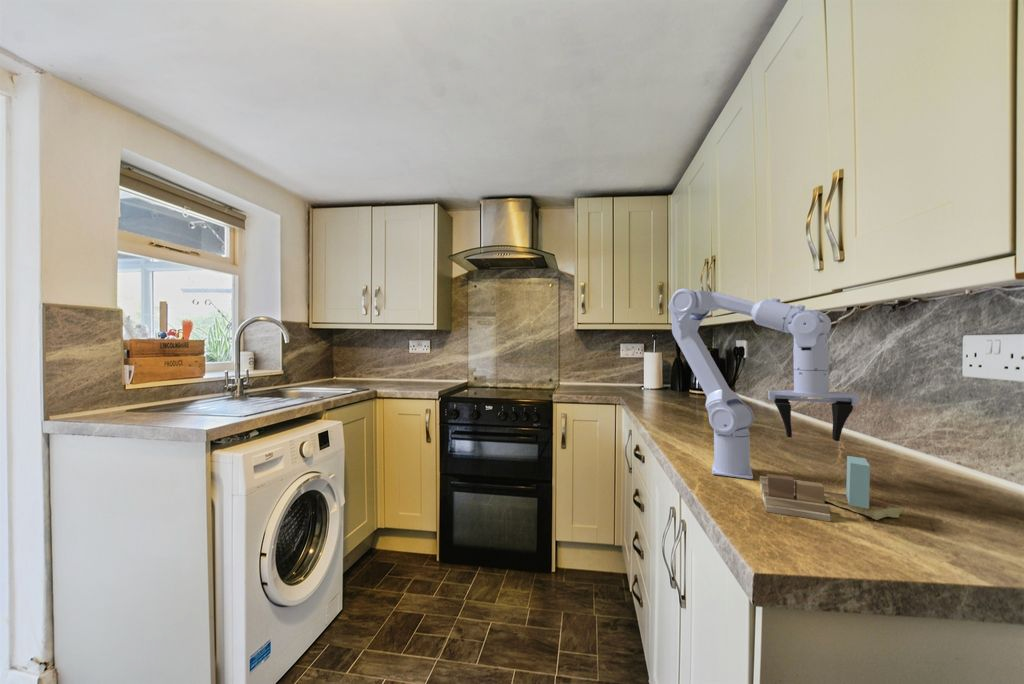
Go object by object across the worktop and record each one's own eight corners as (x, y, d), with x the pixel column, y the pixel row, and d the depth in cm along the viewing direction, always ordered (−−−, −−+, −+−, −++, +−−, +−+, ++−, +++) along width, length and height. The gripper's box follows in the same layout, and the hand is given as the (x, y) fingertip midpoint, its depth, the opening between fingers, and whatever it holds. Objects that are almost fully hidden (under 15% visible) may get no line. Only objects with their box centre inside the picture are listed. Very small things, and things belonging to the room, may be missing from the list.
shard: (810, 497, 78) (810, 487, 78) (840, 495, 80) (840, 486, 80) (873, 520, 68) (874, 509, 68) (906, 517, 70) (907, 506, 70)
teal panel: (849, 504, 69) (850, 463, 69) (846, 494, 75) (847, 455, 75) (868, 508, 68) (870, 466, 68) (864, 497, 73) (865, 458, 74)
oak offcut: (795, 502, 73) (794, 480, 73) (821, 506, 71) (821, 483, 71) (796, 506, 71) (796, 483, 71) (824, 510, 70) (823, 486, 70)
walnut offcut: (767, 498, 75) (767, 474, 75) (792, 502, 73) (792, 477, 73) (768, 502, 73) (768, 477, 73) (794, 506, 72) (793, 480, 72)
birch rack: (759, 485, 85) (759, 475, 85) (813, 492, 81) (813, 481, 81) (766, 511, 72) (766, 499, 72) (830, 521, 68) (830, 508, 68)
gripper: (851, 369, 83) (852, 437, 82) (766, 368, 89) (767, 431, 89) (861, 371, 76) (863, 445, 76) (769, 370, 83) (770, 437, 83)
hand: (812, 438), depth 82 cm, fingers open, 7 cm apart
